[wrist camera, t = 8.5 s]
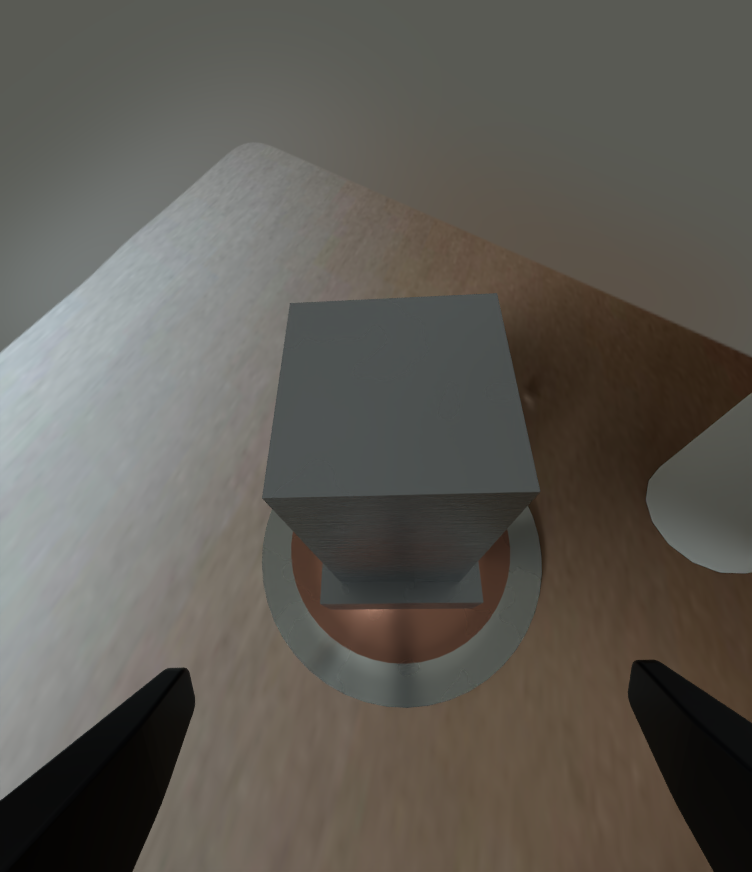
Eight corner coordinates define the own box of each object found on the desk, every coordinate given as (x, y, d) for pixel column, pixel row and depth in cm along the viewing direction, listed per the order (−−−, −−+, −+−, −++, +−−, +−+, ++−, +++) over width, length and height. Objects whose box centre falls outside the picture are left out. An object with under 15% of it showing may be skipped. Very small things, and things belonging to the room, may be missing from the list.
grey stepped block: (472, 608, 16) (602, 537, 6) (330, 609, 17) (208, 545, 6) (457, 476, 19) (526, 267, 9) (336, 479, 19) (261, 281, 9)
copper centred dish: (550, 726, 15) (562, 732, 14) (235, 683, 17) (223, 686, 15) (525, 437, 21) (532, 425, 20) (296, 422, 23) (291, 410, 22)
